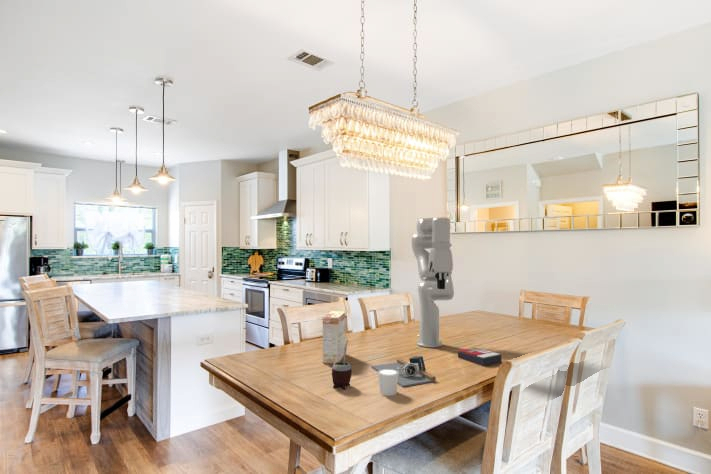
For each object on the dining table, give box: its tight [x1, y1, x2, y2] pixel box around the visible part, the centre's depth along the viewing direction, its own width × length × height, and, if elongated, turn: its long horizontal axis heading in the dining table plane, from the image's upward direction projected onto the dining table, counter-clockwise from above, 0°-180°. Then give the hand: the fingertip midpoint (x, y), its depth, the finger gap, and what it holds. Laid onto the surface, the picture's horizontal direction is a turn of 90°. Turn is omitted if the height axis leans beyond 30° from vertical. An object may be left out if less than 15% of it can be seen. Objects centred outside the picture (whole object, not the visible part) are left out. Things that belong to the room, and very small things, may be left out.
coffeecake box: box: [322, 310, 346, 365], centre depth 171 cm, size 15×7×20 cm, turn 168°
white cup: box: [377, 369, 398, 397], centre depth 132 cm, size 7×7×7 cm
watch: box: [398, 355, 427, 377], centre depth 150 cm, size 6×8×11 cm
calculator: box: [457, 347, 502, 368], centre depth 169 cm, size 11×4×15 cm
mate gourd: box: [331, 339, 353, 391], centre depth 138 cm, size 8×8×15 cm
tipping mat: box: [370, 358, 437, 388], centre depth 150 cm, size 24×14×2 cm, turn 25°
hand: (441, 288), depth 167 cm, fingers closed
